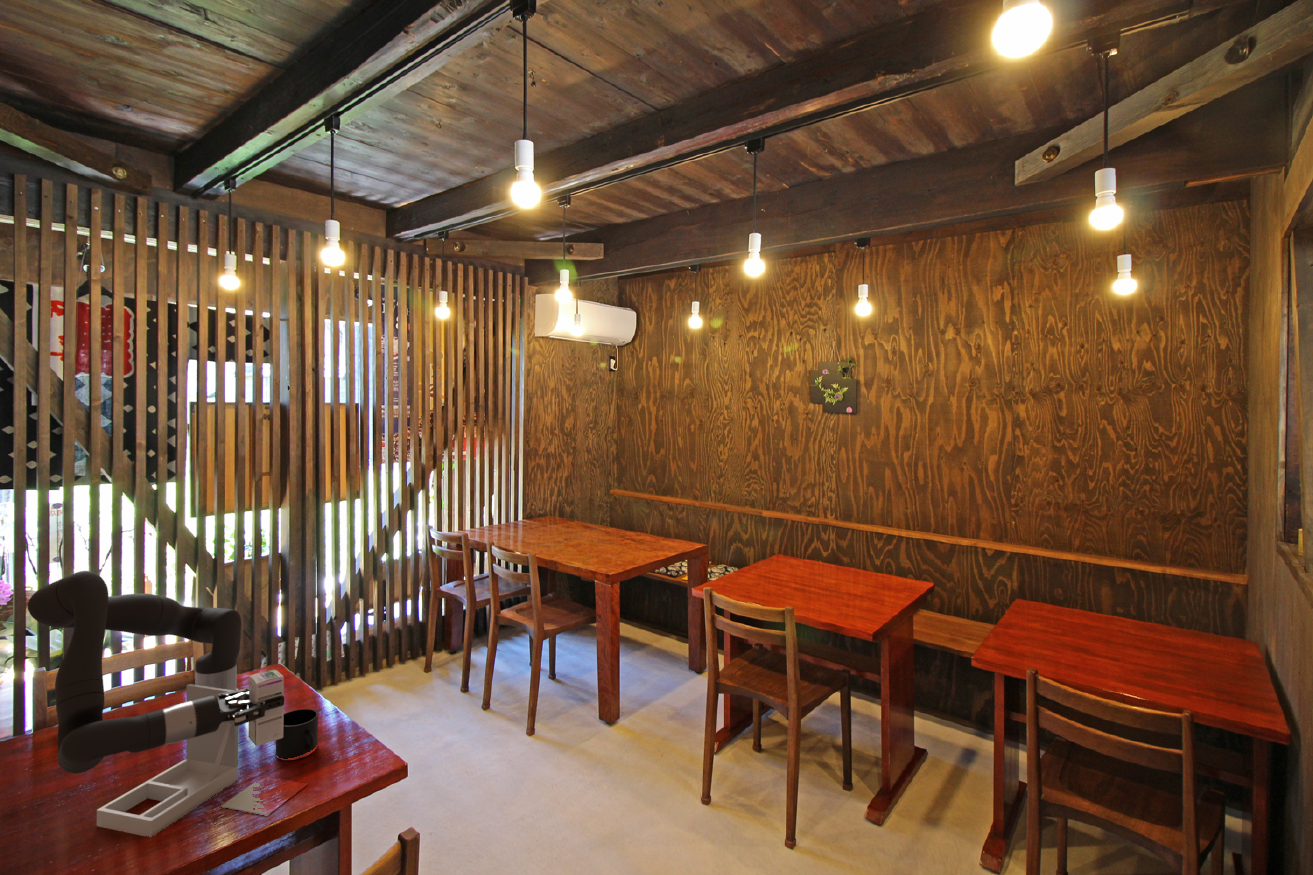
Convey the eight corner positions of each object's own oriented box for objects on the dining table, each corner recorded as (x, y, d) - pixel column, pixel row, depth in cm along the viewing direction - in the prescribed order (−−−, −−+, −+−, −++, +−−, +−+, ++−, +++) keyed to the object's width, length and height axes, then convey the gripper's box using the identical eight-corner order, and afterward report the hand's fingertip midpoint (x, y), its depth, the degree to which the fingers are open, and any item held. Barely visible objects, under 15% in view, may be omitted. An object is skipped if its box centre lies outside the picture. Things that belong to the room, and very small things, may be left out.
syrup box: (284, 737, 143) (285, 675, 143) (254, 747, 139) (256, 682, 138) (275, 728, 147) (277, 667, 146) (246, 737, 143) (248, 674, 142)
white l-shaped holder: (189, 770, 152) (189, 683, 151) (238, 779, 149) (238, 691, 148) (96, 825, 132) (96, 725, 131) (151, 837, 129) (151, 734, 128)
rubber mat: (264, 776, 151) (264, 775, 151) (308, 784, 148) (308, 783, 148) (220, 807, 139) (220, 805, 139) (267, 816, 137) (267, 814, 136)
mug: (293, 769, 154) (294, 733, 154) (268, 753, 161) (268, 719, 160) (330, 752, 162) (331, 717, 162) (305, 738, 169) (305, 705, 168)
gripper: (198, 714, 127) (290, 689, 140) (181, 691, 137) (269, 669, 149) (198, 750, 127) (289, 722, 140) (181, 724, 137) (268, 700, 149)
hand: (278, 695), depth 144 cm, fingers closed on syrup box, 5 cm apart
